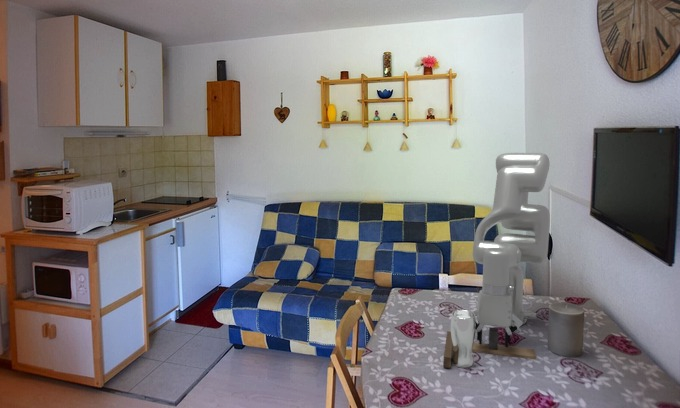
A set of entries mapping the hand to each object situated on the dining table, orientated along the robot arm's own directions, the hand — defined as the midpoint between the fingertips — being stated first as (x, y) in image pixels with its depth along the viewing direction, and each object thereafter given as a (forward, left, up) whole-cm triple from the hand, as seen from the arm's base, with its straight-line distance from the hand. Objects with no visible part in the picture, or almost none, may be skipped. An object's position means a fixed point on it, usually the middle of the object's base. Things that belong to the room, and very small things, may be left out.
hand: (493, 343), depth 135 cm
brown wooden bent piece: (+1, +6, -2) cm, 7 cm away
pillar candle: (-21, -6, -3) cm, 22 cm away
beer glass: (+9, +10, -2) cm, 14 cm away
